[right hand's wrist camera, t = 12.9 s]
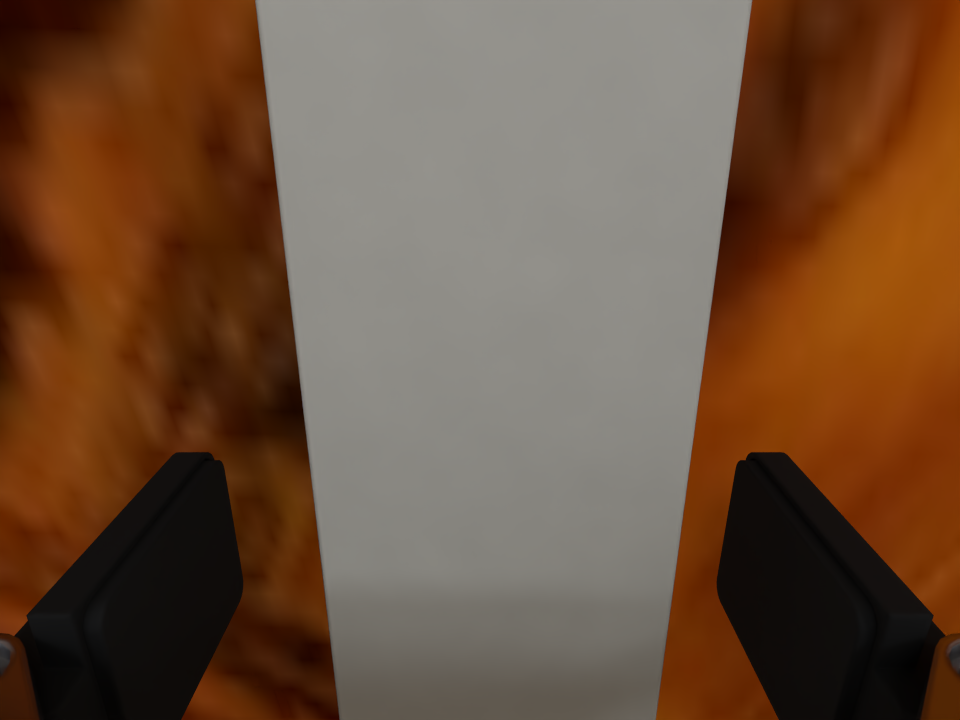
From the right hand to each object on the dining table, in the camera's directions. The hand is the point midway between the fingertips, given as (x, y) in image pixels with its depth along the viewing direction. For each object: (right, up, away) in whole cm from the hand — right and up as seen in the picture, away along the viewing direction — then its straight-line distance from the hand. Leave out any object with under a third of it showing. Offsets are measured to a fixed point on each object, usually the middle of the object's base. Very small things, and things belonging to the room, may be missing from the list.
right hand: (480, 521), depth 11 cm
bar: (0, +22, -4) cm, 22 cm away
